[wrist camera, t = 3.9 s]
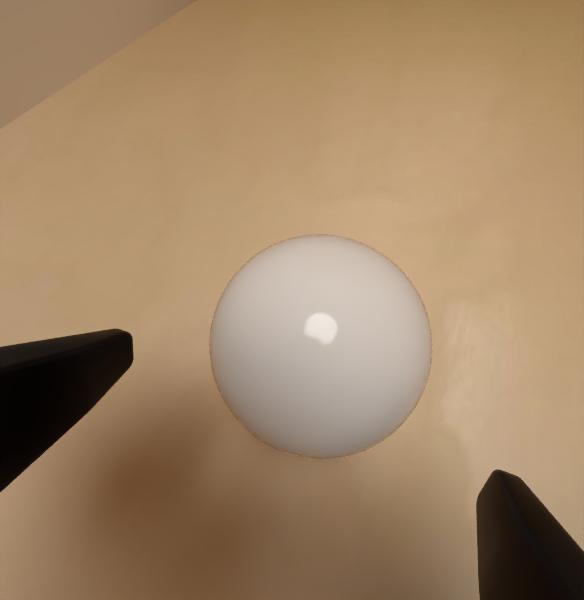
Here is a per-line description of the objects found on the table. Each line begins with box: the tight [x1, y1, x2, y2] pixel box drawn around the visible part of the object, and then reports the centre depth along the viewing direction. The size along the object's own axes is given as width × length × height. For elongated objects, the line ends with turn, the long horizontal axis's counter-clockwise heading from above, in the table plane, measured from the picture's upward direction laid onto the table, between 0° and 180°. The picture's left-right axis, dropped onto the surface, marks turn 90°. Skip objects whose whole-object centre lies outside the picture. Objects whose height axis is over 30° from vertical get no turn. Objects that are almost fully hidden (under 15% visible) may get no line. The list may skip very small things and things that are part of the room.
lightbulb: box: [209, 234, 432, 459], centre depth 12 cm, size 6×6×11 cm
